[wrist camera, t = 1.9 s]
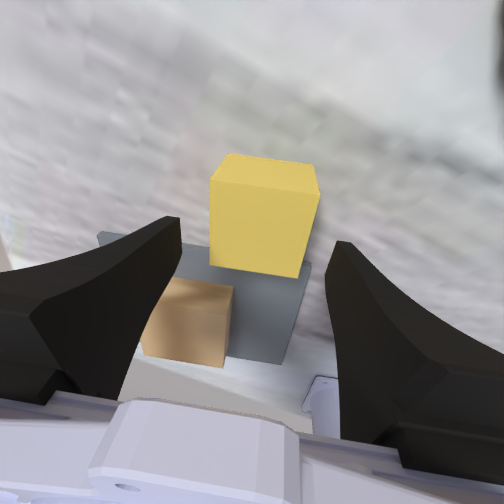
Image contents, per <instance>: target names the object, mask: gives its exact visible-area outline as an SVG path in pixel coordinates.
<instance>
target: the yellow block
mask: <svg viewBox="0 0 504 504" xmlns="http://www.w3.org/2000/svg"><path fill="white" fill-rule="evenodd" d="M319 199H320V191H319V187H318V183H317V179H316V175H315V171H314V167H313V165H311V164H304V163H296V162H289V161H282V160H274V159H267V158H260V157H252V156H245V155H238V154H230V153H228V154H227V156H226V157H225V159H224V160H223V161H222V163H221V164H220V166H219V167H218V168H217V170H216V171H215V173H214V174H213V175H212V177H211V178H210V265H212V266H218V267H225V268H232V269H238V270H245V271H251V272H258V273H264V274H271V275H278V276H284V277H291V278H297V279H298V275H299V271H300V268H301V264H302V261H303V257H304V253H305V250H306V246H307V242H308V239H309V235H310V232H311V228H312V224H313V221H314V217H315V213H316V210H317V206H318V202H319Z"/></svg>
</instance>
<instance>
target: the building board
mask: <svg viewBox="0 0 504 504" xmlns="http://www.w3.org/2000/svg"><path fill="white" fill-rule="evenodd" d="M124 236H127V235H123V234H116V233H109V232H103V231H101V232H100V233H99V234H98V235H97V239H98V242H99V245H100V247H102V246H104V245H107V244H109V243H111V242H114V241H116V240H118V239H120V238H122V237H124ZM310 270H311V263H310V262H303V261H302V264H301V268H300V271H299V275H298V279H297V278H291V277H284V276H278V275H271V274H264V273H258V272H251V271H245V270H238V269H232V268H225V267H218V266H212V265H210V247H203V246H196V245H190V244H183V243H182V256H181V259H180V261H179V264H178V266H177V269H176V271H175V273H174V275H173V277H178V278H184V279H191V280H197V281H204V282H210V283H216V284H223V285H229V286H234V288H233V301H232V314H231V327H230V339H229V344H228V348H227V353H226V356H229V357H235V358H241V359H247V360H253V361H259V362H265V363H271V364H277V365H282V361H283V358H284V355H285V352H286V348H287V345H288V342H289V339H290V335H291V332H292V329H293V325H294V322H295V319H296V316H297V312H298V309H299V306H300V303H301V299H302V296H303V293H304V290H305V286H306V283H307V280H308V277H309V273H310ZM139 342H141V341H139Z"/></svg>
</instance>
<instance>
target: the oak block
mask: <svg viewBox="0 0 504 504" xmlns="http://www.w3.org/2000/svg"><path fill="white" fill-rule="evenodd" d="M233 288H234V286H229V285H223V284H216V283H210V282H204V281H197V280H191V279H184V278H178V277H172V278H171V280H170V282H169V284H168V285H167V287H166V289H165V290H164V292H163V294H162V296H161V297H160V299H159V301H158V303H157V304H156V306H155V308H154V310H153V312H152V313H151V315H150V317H149V320H148V322H147V324H146V327H145V329H144V331H143V333H142V336H141V338H140V341H141V345H142V349H143V353H144V355H145V356H151V357H157V358H163V359H169V360H175V361H181V362H187V363H193V364H199V365H205V366H211V367H217V368H223V367H224V362H225V357H226V353H227V348H228V344H229V339H230V327H231V314H232V301H233Z"/></svg>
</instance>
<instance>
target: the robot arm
mask: <svg viewBox="0 0 504 504" xmlns="http://www.w3.org/2000/svg"><path fill="white" fill-rule="evenodd" d="M181 256H182V241H181V229H180V218H178V217H171V216H165V217H163V218H161V219H158V220H156V221H154V222H153V223H151V224H149V225H147V226H145V227H143V228H141V229H139V230H137V231H135V232H133V233H131V234H129V235H127V236H124V237H122V238H120V239H118V240H116V241H114V242H111V243H109V244H107V245H104V246H102V247H99V248H96V249H93V250H91V251H88V252H85V253H82V254H79V255H75V256H72V257H68V258H65V259H61V260H58V261H54V262H50V263H46V264H42V265H37V266H33V267H28V268H23V269H18V270H13V271H7V272H0V504H504V354H502V353H500V352H498V351H496V350H494V349H492V348H490V347H488V346H486V345H484V344H482V343H481V342H479V341H477V340H475V339H473V338H472V337H470V336H468V335H466V334H464V333H463V332H461V331H459V330H457V329H456V328H454V327H452V326H451V325H449V324H448V323H446V322H444V321H443V320H441V319H440V318H438V317H437V316H435V315H434V314H432V313H431V312H429V311H428V310H426V309H425V308H423V307H422V306H420V305H419V304H418V303H416V302H415V301H414V300H412V299H411V298H410V297H409V296H407V295H406V294H405V293H403V292H402V291H401V290H400V289H399V288H397V287H396V286H395V285H394V284H393V283H392V282H391V281H389V280H388V279H387V278H386V277H385V276H384V275H383V274H382V273H381V272H380V271H379V270H378V269H377V268H376V267H375V266H374V265H373V264H372V263H371V262H370V261H369V260H368V259H367V258H366V257H365V256H364V255H363V254H362V253H361V252H360V251H359V250H358V249H357V248H356V247H355V246H354V245H353V244H352V243H351V242H344V241H337V242H336V245H335V248H334V250H333V253H332V256H331V259H330V262H329V264H328V267H327V270H326V273H325V291H326V298H327V303H328V309H329V314H330V319H331V324H332V328H333V333H334V339H335V346H336V357H337V370H338V379H333V378H327V377H321V376H318V377H316V378H315V380H314V382H313V384H312V386H311V388H310V391H309V393H308V395H307V397H306V399H305V401H304V403H303V405H302V412H305V413H310V414H312V425H313V434H307V433H301V432H295V431H293V430H292V429H291V428H289V427H288V426H286V425H285V424H284V423H282V422H280V421H276V420H273V419H270V418H266V417H262V416H258V415H253V414H247V413H241V412H235V411H229V410H223V409H217V408H211V407H206V406H199V405H194V404H188V403H182V402H176V401H170V400H165V399H158V398H139V397H138V398H135V399H132V400H129V401H127V402H120V401H117V399H118V396H119V394H120V391H121V388H122V385H123V382H124V379H125V376H126V374H127V371H128V368H129V366H130V363H131V361H132V358H133V355H134V353H135V350H136V348H137V346H138V343H139V341H140V338H141V336H142V333H143V331H144V329H145V327H146V324H147V322H148V320H149V317H150V315H151V313H152V312H153V310H154V308H155V306H156V304H157V303H158V301H159V299H160V297H161V296H162V294H163V292H164V290H165V289H166V287H167V285H168V284H169V282H170V280H171V278H172V277H173V275H174V273H175V271H176V269H177V266H178V264H179V261H180V259H181Z"/></svg>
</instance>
